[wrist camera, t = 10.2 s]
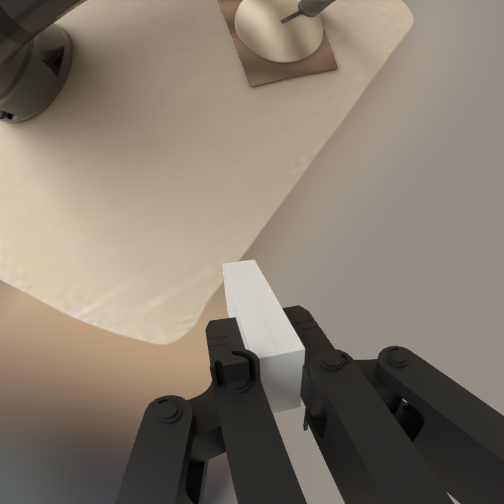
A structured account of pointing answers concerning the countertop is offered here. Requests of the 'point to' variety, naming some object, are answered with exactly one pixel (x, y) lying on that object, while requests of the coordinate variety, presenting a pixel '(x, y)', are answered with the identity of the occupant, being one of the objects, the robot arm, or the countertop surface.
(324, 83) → the countertop surface
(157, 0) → the countertop surface
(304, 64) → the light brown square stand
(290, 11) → the disc with grey post
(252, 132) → the countertop surface
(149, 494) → the robot arm
